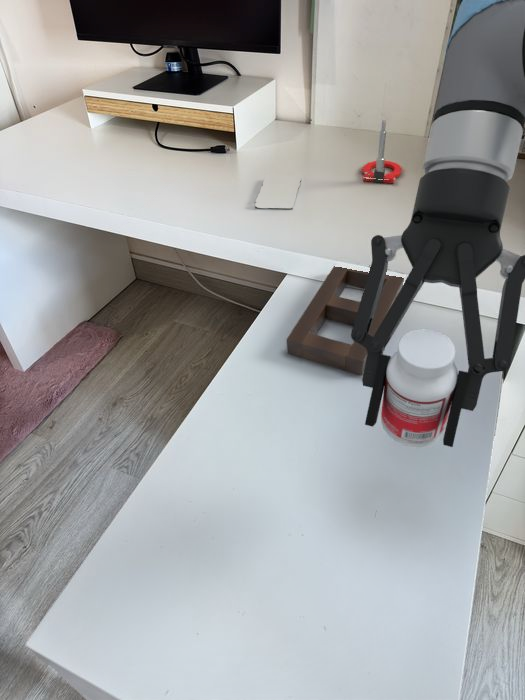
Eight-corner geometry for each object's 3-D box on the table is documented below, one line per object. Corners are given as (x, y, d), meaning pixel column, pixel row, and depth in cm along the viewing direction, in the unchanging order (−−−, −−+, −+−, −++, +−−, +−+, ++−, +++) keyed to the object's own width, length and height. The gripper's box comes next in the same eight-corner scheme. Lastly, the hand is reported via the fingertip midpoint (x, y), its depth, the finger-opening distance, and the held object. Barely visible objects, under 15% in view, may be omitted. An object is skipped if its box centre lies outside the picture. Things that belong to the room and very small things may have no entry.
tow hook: (365, 164, 116) (358, 182, 110) (369, 105, 107) (362, 121, 101) (403, 166, 114) (397, 185, 108) (410, 106, 105) (405, 122, 99)
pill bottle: (412, 390, 53) (426, 312, 45) (457, 428, 50) (481, 351, 42) (367, 418, 51) (374, 343, 44) (410, 461, 48) (426, 387, 40)
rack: (404, 287, 85) (406, 273, 83) (361, 375, 72) (362, 361, 70) (338, 272, 89) (338, 258, 87) (287, 353, 77) (286, 339, 75)
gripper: (576, 203, 45) (516, 453, 46) (362, 181, 51) (316, 403, 53) (602, 175, 38) (530, 472, 39) (350, 154, 44) (297, 412, 45)
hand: (408, 432), depth 46 cm, fingers closed on pill bottle, 6 cm apart
